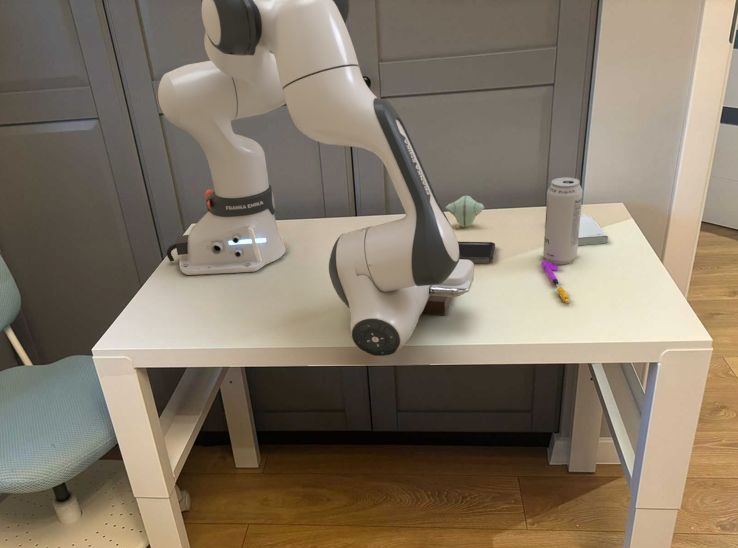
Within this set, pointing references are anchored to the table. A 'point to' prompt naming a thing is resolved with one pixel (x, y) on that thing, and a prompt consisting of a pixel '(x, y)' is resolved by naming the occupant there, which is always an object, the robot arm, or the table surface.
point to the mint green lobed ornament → (465, 210)
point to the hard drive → (590, 231)
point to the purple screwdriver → (554, 278)
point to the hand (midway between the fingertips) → (420, 254)
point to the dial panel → (437, 305)
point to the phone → (477, 251)
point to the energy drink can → (562, 220)
